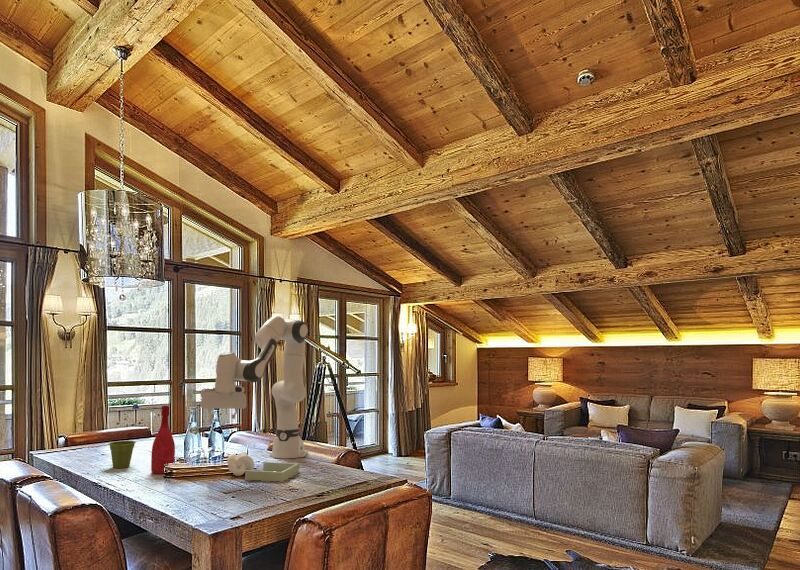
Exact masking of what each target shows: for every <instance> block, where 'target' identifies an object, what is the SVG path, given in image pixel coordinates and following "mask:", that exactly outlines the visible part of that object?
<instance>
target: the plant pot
mask: <svg viewBox="0 0 800 570" xmlns="http://www.w3.org/2000/svg"><path fill="white" fill-rule="evenodd" d="M136 443H137V442H136V441H135V440H118V441H117V440H116V441H113V442H112V441H111V442H109V443H108V445H109V448H110V449H109V450H110V455H111V461H112V462H111V463H112V468H115V469H124V468H128V467H130V465H131V461H132V455H133V451H134V448H135V445H136Z"/></svg>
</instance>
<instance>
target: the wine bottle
mask: <svg viewBox="0 0 800 570" xmlns="http://www.w3.org/2000/svg"><path fill="white" fill-rule="evenodd" d="M160 415H161V423H160V426H159V429H158V431H157V434H156V435H155V438H154V439H153V442H152V446H151V455H150V456H151V461H150V464H151V466H150V468H151V469H150V470H151V471H150V472H151V473H152V474H154V475H165V474H164V464H166V463H167V464H168V463H173V462H174V463H175V459H176V458H175V454H176V445H175V444H176V443H175V440H174V437H173V434H172V432H171V429H170V427H169V426H170V425H169V416H170V406H169V405H167V404H166V405H162V406H161V413H160Z"/></svg>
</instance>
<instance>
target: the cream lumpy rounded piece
mask: <svg viewBox="0 0 800 570" xmlns="http://www.w3.org/2000/svg"><path fill="white" fill-rule="evenodd" d="M253 459H254V458H252V456H250V455H248V454H247V453H246V452H241V453H239V454H238V455H237V454H233V453H231V454H229V455H228V457H227V461H226V464H227V467H228V469H229V472H230V471H231V472H232V473H233V474H232V475H234V476H236V477H240V476H242V475H245V471H246V470H253V471H254V467H255V462H254V460H253Z"/></svg>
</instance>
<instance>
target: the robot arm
mask: <svg viewBox="0 0 800 570" xmlns="http://www.w3.org/2000/svg"><path fill="white" fill-rule="evenodd" d="M308 334H309V326H308V325H307V323H306V322H304V321H303V320H297V319H289V318H288V319H284V318H283V317H281V316H280V315H273V316H271V317H270V318H269V319H267V320H266V321H265V322H264V323H263V324H262V325H261V327H259V329H258V330H257V331H256V333H255V335H254V340H255V344H256V345H257V346H258V348H259V349H261V350H260V352H259V354H258V356H257V357H256V358H254V359H252V360H246V359H245V360H243V359H241V358H240V357H238V356H237V355H236V353H235V352H223V353H220V354H218V357H217V360H216V367H215V373H216V376H215V377H216V378H215V382H214V387H204V388H202V389H201V390H200V397H201V400H200V408H201V409H207V410H208V411H207V412H208V413H209V414H210V417H209V419H210V420H212V419H213V420H214V418H215V414H213V413H212V411H213V410H214V409H215V410H216V409H218V410H220V409H229V410H230V409H234V411H235V412H234V413H233V414H231V419H233V420H234V419H236V415H237V413H239V409H243V410H245V409H246V408H247V395H246V393H244V392H245V389H246V388H245V387H244V386H241V385H239V384H236V381H241V382H250V383H258V382H259V381H261V380H262V378H263V376H264V375H265V373H266V372H265V371H266V369H267V367H268V365H269V363H270V362H271V360H272V358H273V356H274V354H275V353H276V351H277V349H278V348H277V347H278V341H279V340H280V341H285V347H284V351H283V357H282V364H281V370H282V373H283V380H280V381H277V382H275V383H274V384H273V385H272V387H271V394H272V397H273V398H274V403H275V408H276V429H275V437H274V438H273V440H272V441H273V442H272V448H271V449H272V450H271V453H269V456H271V457H272V458H276V459H295V458H304V457H306V455H307V454H308V453H309V451H308V450H306V449H305V448H304V447H305V446H304V444H305V443H304V440H303V439H302V438H301V436H300V433H301V428H300V427H299V412H298V410H297V407H296V403H300V402H302V401H304V399H305V397H306V396H307V389H306V387H305V385H304V376H303V371H304V362H305V355H306V338H307V337H308Z"/></svg>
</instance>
